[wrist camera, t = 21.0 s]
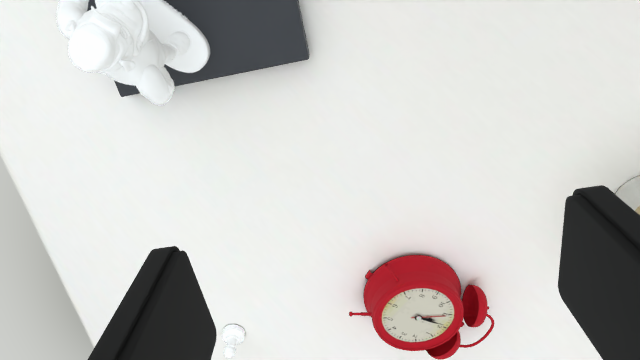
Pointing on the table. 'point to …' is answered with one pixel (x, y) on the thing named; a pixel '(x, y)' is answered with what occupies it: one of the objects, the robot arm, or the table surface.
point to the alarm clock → (422, 305)
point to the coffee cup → (631, 193)
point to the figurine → (133, 42)
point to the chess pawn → (232, 339)
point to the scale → (239, 37)
